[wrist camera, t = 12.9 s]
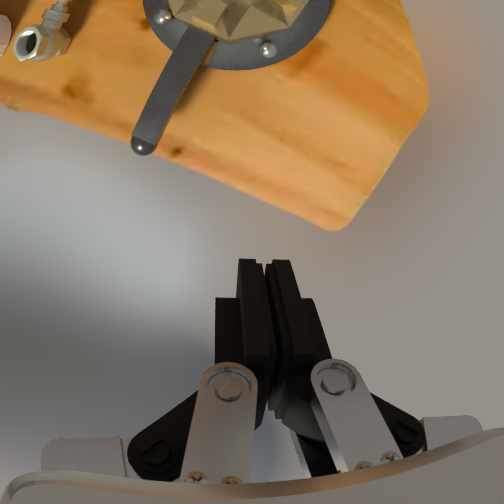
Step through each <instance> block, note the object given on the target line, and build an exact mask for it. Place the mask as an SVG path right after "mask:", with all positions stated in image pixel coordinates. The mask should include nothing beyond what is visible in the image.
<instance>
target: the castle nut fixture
mask: <svg viewBox="0 0 504 504" xmlns="http://www.w3.org/2000/svg"><path fill="white" fill-rule="evenodd" d="M168 1H169V4H170V7H171V10H172V14H173V16H174V17H175V18H176V19H177V20H178V21H179V22H180V23H181V24H182V25H184V26H187V29H186V31H185V32H184V34H183V36H182V37H181V39H180V41H179V42H178V44H177V46H176V48H175V49H174V51H173V53H172V55H171V56H170V58H169V60H168V62H167V64H166V65H165V67H164V69H163V71H162V73H161V75H160V77H159V79H158V81H157V82H156V84H155V86H154V88H153V90H152V92H151V94H150V96H149V98H148V100H147V103H146V105H145V107H144V109H143V111H142V113H141V115H140V117H139V120H138V122H137V124H136V126H135V129H134V131H133V133H132V135H133V136H132V138H131V148H132V150H133V151H134V152H135V153H136V154H138V155H142V156H146V155H149V154H151V153H152V152H154V151H155V149H156V147H157V145H158V141H159V140H160V139H161V137H162V135H163V133H164V131H165V129H166V127H167V125H168V123H169V121H170V119H171V117H172V115H173V113H174V111H175V109H176V107H177V105H178V103H179V101H180V99H181V97H182V96H183V94H184V92H185V90H186V88H187V86H188V85H189V83H190V81H191V79H192V77H193V76H194V74H195V72H196V70H197V69H198V67H199V65H200V64H201V62H202V60H203V58H204V57H205V55H206V53H207V52H208V50H209V48H210V47H211V45H212V44H213V42H214V40H215V39H216V40H218V41H220V42H222V43H224V44H226V45H228V43H229V45H232V44H236V43H240V42H244V41H248V40H252V39H257V38H261V37H266V36H271V35H276V34H280V33H281V32H283V31H285V30H286V29H288V28H289V27H290V26H291V25H292V24H293V22H294V21H295V19H296V18H297V16H298V15H299V14H300V12H301V11H302V9H303V8H304V7H305V5H306V4H307V3H308V1H309V0H168Z"/></svg>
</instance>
